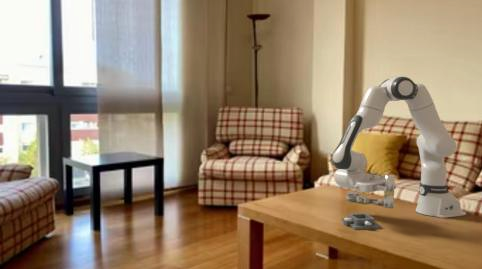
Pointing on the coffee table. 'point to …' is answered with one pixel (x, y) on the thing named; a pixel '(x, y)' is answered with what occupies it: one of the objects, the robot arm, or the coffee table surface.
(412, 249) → the coffee table surface
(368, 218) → the shaft housing
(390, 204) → the coupler
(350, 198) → the pulley system
